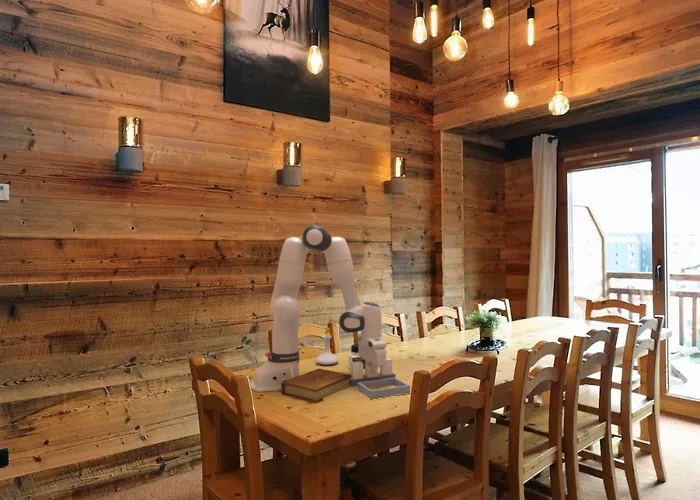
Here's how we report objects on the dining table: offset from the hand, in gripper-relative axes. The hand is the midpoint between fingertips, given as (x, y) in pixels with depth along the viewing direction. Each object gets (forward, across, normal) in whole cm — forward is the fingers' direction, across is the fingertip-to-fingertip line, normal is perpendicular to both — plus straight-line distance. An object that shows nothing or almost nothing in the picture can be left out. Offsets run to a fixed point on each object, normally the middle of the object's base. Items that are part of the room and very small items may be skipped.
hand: (371, 371), depth 210 cm
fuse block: (+5, 0, 0) cm, 5 cm away
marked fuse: (+4, 0, 0) cm, 4 cm away
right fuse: (+4, 0, +7) cm, 8 cm away
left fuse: (+4, 0, -7) cm, 8 cm away
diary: (+6, 0, -25) cm, 25 cm away
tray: (+5, +13, -1) cm, 14 cm away
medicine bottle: (+6, -24, +4) cm, 24 cm away
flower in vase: (+6, -40, -5) cm, 41 cm away
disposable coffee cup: (+5, -38, +16) cm, 41 cm away
